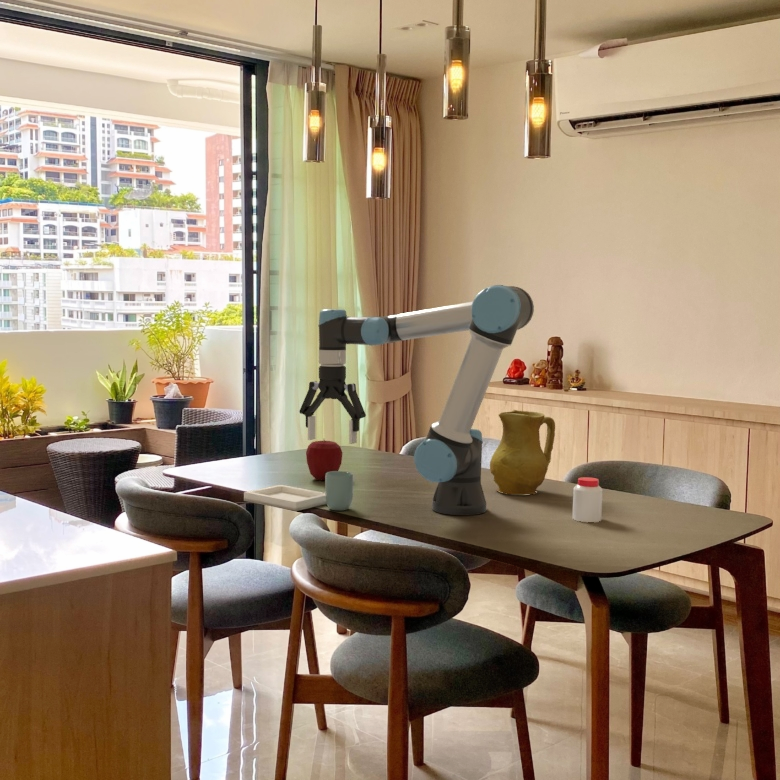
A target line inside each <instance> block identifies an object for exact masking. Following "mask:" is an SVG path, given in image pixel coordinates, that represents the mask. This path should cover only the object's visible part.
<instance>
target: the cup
mask: <svg viewBox="0 0 780 780" xmlns="http://www.w3.org/2000/svg"><path fill="white" fill-rule="evenodd" d="M324 482H325V483H324V489H325V490H324V493H325V496H326V503H327V504H326V505H327V507H328V508H329V509H330V510H332V511H339V512H341V511H346V510H349V508H350V507H351V506H352V503H353V500H354V489H355V488H354V487H355V485H354V483H355V476H354V472H351V471H344V470H343V471H342V470H338V471H331V472H327V473H326V476H325V480H324Z"/></svg>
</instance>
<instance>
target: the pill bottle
mask: <svg viewBox="0 0 780 780" xmlns="http://www.w3.org/2000/svg"><path fill="white" fill-rule="evenodd" d="M599 484H600V481H599V478H595V477H589V476H587V477H584V476H583V477H578V479H577V484H576V485H575V486H574V487H573V488H572V489H573V490H572V491H573V493H572V514H571V515H572V516H571V518H572V520H573V519H574V521H575V520H576V522H579V521H581V522H580V523H588V522H594V523H600V522H601V521H602V511H603V491H604V489H603V488H602V487H601V486H600V485H599ZM599 521H600V522H599Z"/></svg>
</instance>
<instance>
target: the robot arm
mask: <svg viewBox="0 0 780 780" xmlns="http://www.w3.org/2000/svg"><path fill="white" fill-rule="evenodd" d="M534 307H535V306H534V301H533V299H532V297H531V295H530V294H529V293H528V292H527V291H526V290H524V289H523V288H521V287H519V286H514V285H513V286H511V285H509V286H508V285H504V284H495V285H491V286H488V287H485V288H483V289H482V290H481V291H479V292H478V293H477V294H476V296H475V297H474V299H473V301H468V302H463V303H462V302H460V303H456V304H450V305H444V306H439V307H433V308H432V307H431V308H427V309H421V310H416V311H415V310H414V311H409V312H404V313H399V314H397V313H396V314H392V315H385V316H347V311H346V310H345V309H340V308H339V309H335V308H333V309H332V308H330V309H328V308H326V309H325V308H324V309H321V311H319V319H318V324H317V325H318V343H319V344H318V365H319V367H318V379H319V380H318V381H316V380H314V381H310V382H309V385H308V391H306V392H307V393H306V394H305V397H304V400H303V402H302V404H301V407H300V409H299V411H298V412H299V414H301V415H304V416H305V427H306V428H307V440H308V441H312V440H316V415H315V413H316V411H317V410H318V408H319V407H320V406H321V405H322V404H323V402H324V401H325V400H326V399H327V400H329V399H332V400H338V401H339V402H340V403H341V405H342V406H343V408H344V410H345V411H346V412H347V413H348V415H349V416H350V418H351V419H349V420H348V422H349V423H348V427H349V430H348V434H349V435H348V440H349V441H348V444H350V445H353V444H357V441H358V439H357V433H358V432H359V431H360V420H361V419H363V418H366V416H367V414H366V412H365V410H364V407H363V405H362V402H361V400H360V398H359V394H358V393H357V387H356V386H357V385H356V384H355V383H348V384H346V378H347V368H346V363H347V345H363V346H379V345H380V346H382V345H384V344H394V343H396V342H401V341H406V340H414V339H420V338H428V337H434V336H440V335H441V336H442V335H445V334H446V335H447V334H454V333H459V332H466V331H468V332H469V334H470V335H471V337H470V341H469V342H468V346H467V349H466V351H465V353H464V356H463V358H462V361H461V362H460V363H461V364H460V366H459V369H458V371H457V373H456V376H455V379H454V380H453V384H452V386H451V389H450V392H449V394H448V397H447V399H446V402H445V404H444V407H443V410H442V412H441V415H440V417H439V420H438V421H435V422H433V423H431V425H430V427H429V430H428V432H427V435H426V437H425V439H424V440H423V441H421V442H420V443H419V444H418V446H417V447H416V448H415V450H414V454H413V461H414V466H415V468H416V470H417V472H418V473H419V475H420V476H421V477H422V478H424V479H425V480H427V481H429V482H431V483H437V485H436V488H435V491H434V494H433V496H432V497H433V498H432V501H431V509H432V511H434V512H436V513H439V514H443V515H452V516H475V515H480V514H484V513H486V512H487V501H486V497H485V494H484V490H483V487H482V483H481V482H482V481H481V480H482V477H481V475H482V458H483V457H482V453H483V444H484V443H483V434H482V432H481V430H479V429H477V428H473V425H474V422H475V421H476V418H477V415H478V413H479V410H480V408H481V405H482V403H483V400H484V398H485V395H486V392H487V390H488V387H489V385H490V383H491V379H492V378H493V376H494V373H495V370H496V367H497V364H498V362H499V360H500V357H501V355H502V352H503V350H504V349H505V348H508V347H510V346H511V345H512V344H513V341H514V338H515V336H516V333H517V332H518V331H519V330H521V329H523V328H525V327H526V326H527V325H528V324H529V323H530V321H531V320H532V318H533V316H534V312H535V309H534ZM318 389H319V393H318V394H317V391H318ZM345 391H346V392H347V394H348V395H347V394H346V392H345ZM316 394H317V395H316ZM315 396H316V398H315ZM348 396H349V397H348ZM314 398H315V399H314Z"/></svg>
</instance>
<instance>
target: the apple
mask: <svg viewBox="0 0 780 780" xmlns="http://www.w3.org/2000/svg"><path fill="white" fill-rule="evenodd" d="M305 453H306V456H305V457H306V464H307V467H308V470H309V473H310V475H311V476H312V477H313V478H314V479H315V480H316V481H325V476H326V473H327V472H331V471H340V467H341V465H342V461H343V451H342V447H341V445H340V444H338V442H336V441H332V440H331V441H330V440H325V439H323V440H317V441H316V440H315V441H312V442H310V443H309V445H308V446H307V448H306V451H305Z"/></svg>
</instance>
